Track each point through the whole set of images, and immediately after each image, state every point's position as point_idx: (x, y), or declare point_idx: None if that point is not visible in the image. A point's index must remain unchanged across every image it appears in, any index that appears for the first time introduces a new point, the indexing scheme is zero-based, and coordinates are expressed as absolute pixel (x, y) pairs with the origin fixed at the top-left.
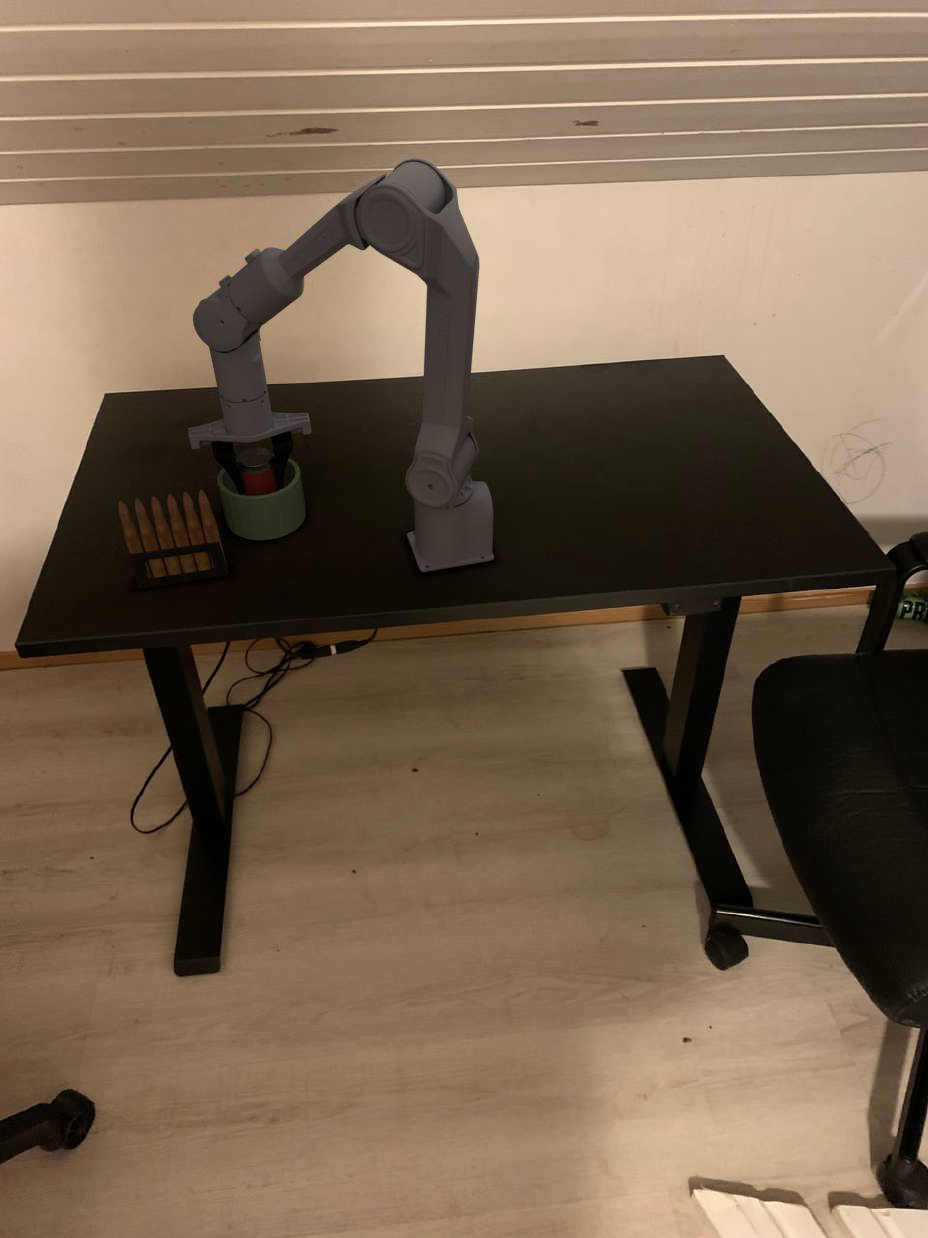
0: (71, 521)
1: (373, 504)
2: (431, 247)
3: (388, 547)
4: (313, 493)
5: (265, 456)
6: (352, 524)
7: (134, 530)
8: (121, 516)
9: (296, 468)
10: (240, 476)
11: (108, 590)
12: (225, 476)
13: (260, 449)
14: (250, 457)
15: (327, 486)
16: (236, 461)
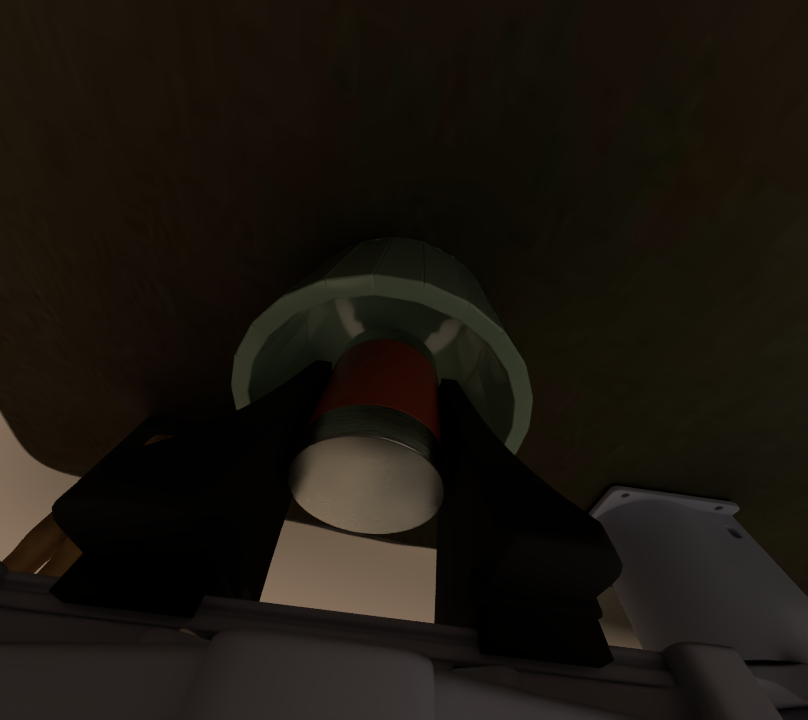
0: None
1: (635, 388)
2: None
3: (564, 490)
4: (541, 290)
5: (409, 505)
6: (550, 426)
7: (53, 555)
8: None
9: (514, 435)
10: (316, 401)
11: (104, 421)
12: (265, 348)
13: (402, 461)
14: (345, 488)
15: (596, 272)
16: (290, 428)
